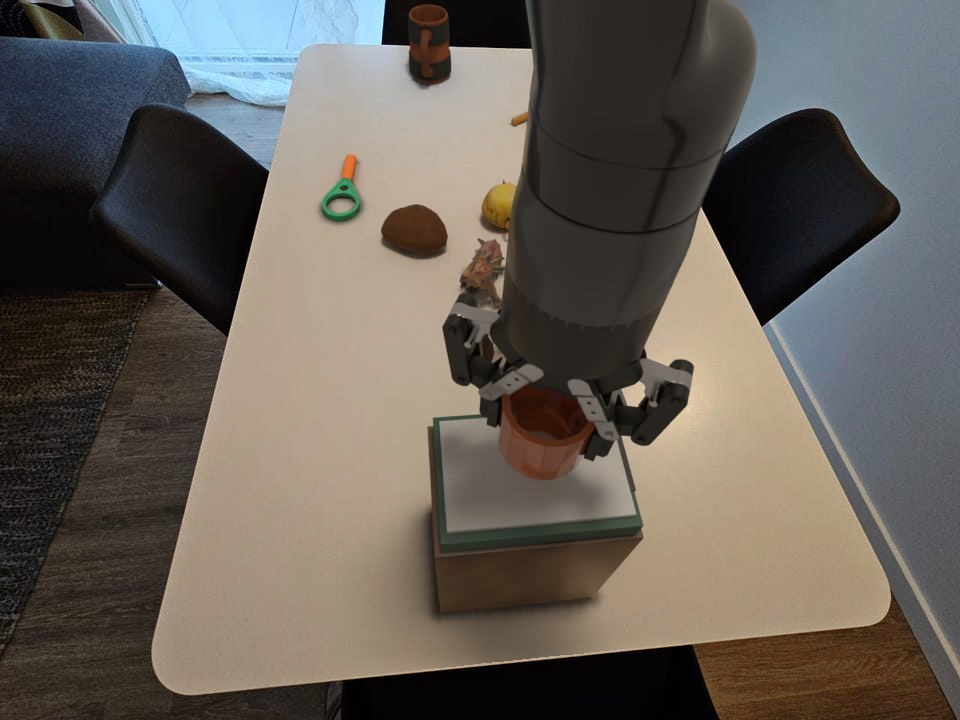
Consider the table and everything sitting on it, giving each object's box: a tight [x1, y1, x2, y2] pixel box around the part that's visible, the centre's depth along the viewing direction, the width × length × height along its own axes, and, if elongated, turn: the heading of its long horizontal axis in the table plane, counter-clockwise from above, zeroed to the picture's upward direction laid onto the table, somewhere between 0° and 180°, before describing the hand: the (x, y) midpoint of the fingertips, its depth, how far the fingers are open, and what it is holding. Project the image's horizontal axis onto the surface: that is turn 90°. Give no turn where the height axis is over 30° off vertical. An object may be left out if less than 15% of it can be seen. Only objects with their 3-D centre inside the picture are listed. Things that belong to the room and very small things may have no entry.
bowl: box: [498, 384, 596, 480], centre depth 38 cm, size 6×6×5 cm
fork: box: [510, 111, 528, 126], centre depth 111 cm, size 2×2×20 cm
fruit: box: [481, 179, 517, 233], centre depth 90 cm, size 7×7×10 cm
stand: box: [427, 425, 644, 614], centre depth 54 cm, size 16×11×20 cm
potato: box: [380, 203, 449, 255], centre depth 86 cm, size 7×10×7 cm
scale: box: [432, 413, 644, 552], centre depth 45 cm, size 15×10×3 cm
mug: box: [407, 4, 452, 85], centre depth 112 cm, size 9×12×12 cm
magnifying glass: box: [321, 154, 361, 222], centre depth 95 cm, size 15×6×2 cm, turn 179°
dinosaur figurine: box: [459, 237, 506, 309], centre depth 81 cm, size 14×6×9 cm, turn 173°
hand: (543, 431), depth 39 cm, fingers closed on bowl, 6 cm apart
